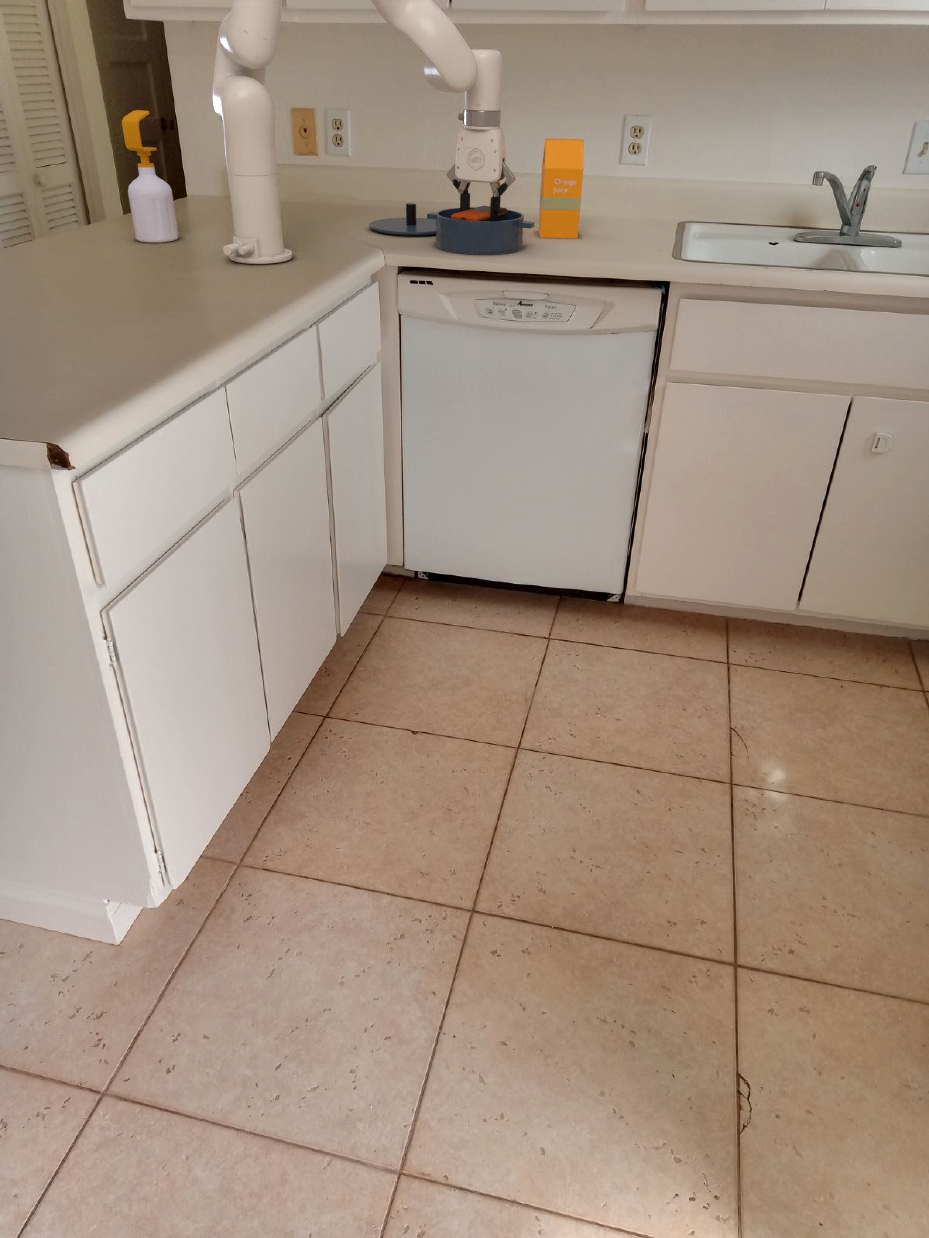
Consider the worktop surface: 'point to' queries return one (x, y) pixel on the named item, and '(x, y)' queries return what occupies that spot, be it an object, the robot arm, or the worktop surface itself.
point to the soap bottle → (148, 190)
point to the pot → (480, 233)
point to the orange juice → (561, 188)
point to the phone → (476, 214)
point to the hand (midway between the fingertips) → (479, 214)
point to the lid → (406, 224)
